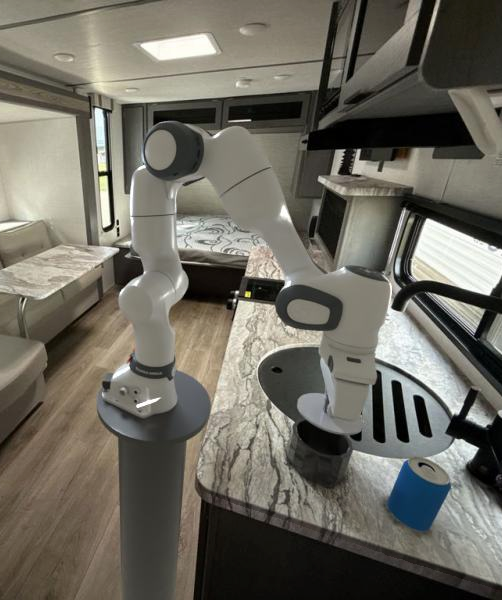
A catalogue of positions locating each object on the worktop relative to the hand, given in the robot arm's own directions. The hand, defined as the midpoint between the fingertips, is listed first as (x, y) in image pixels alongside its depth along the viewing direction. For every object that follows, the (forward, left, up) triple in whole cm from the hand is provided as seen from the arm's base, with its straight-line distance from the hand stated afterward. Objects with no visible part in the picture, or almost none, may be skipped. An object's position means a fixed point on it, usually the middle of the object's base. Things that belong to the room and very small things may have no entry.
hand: (329, 408), depth 64 cm
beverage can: (+15, -7, -15) cm, 22 cm away
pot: (0, 0, -15) cm, 15 cm away
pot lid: (0, 0, -1) cm, 1 cm away
